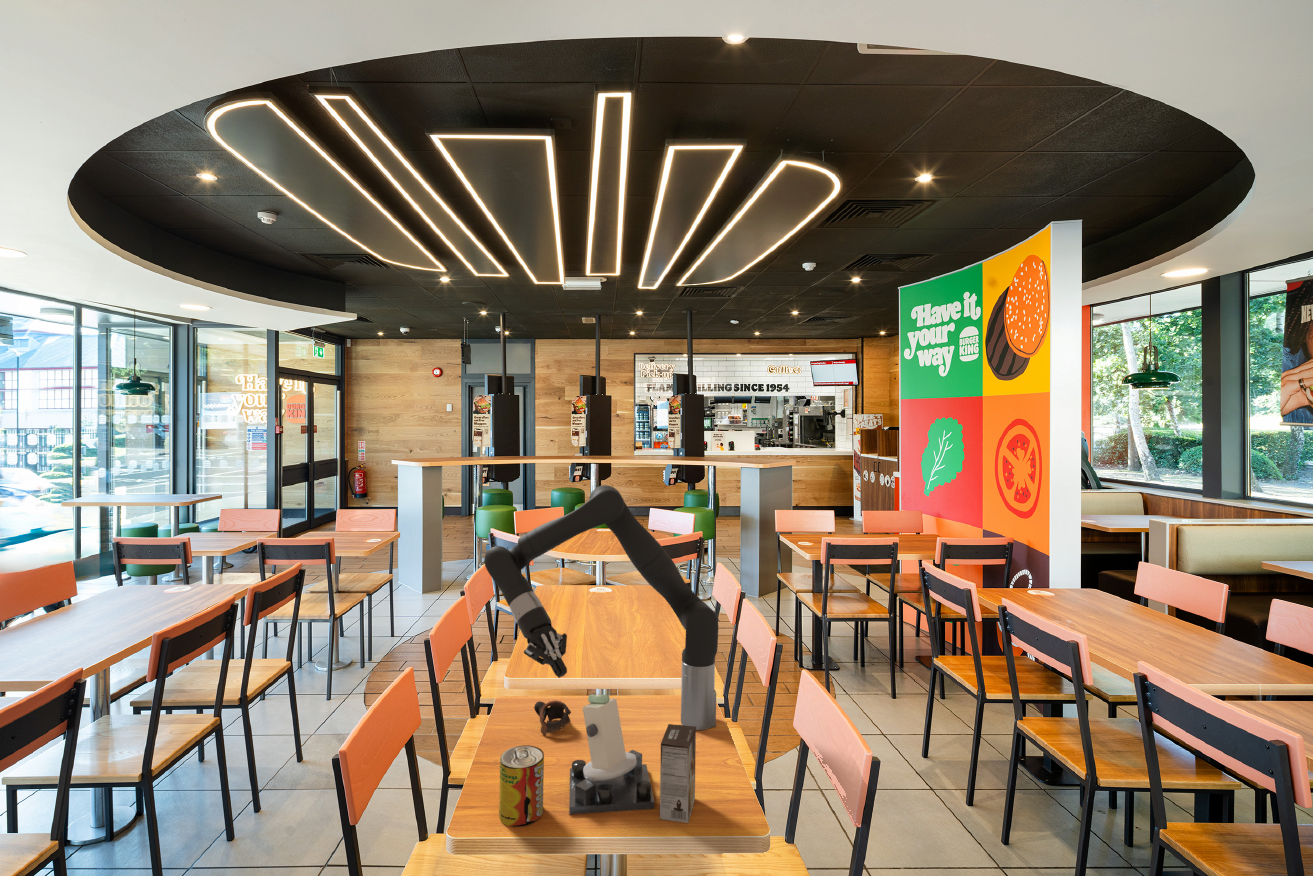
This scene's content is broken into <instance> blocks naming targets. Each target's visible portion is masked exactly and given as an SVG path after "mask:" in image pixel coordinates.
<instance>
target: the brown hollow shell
mask: <svg viewBox="0 0 1313 876" xmlns="http://www.w3.org/2000/svg"><path fill="white" fill-rule="evenodd" d="M533 709H534V712H535V713H536V714H537V715H538V717H539V722H540V725H541V728H540V733H541V734H542V735H544V736H546V735H547V733H548V734H549V733H553V732H557V731H561V730H562V728H565V727H566V725H567V724H569V723H571V718H570V716H569V715H571V714H572V711H571V709H569V707H568V706H567V704H565V703H564V702H563V701H561V700H551V701H548V702H546V703H545V702H543V701H540V700H539V701H536V703H535V704H534V707H533ZM546 718H547V719H548V720H546ZM553 720H556V721H553Z"/></svg>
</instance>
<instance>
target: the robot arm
mask: <svg viewBox="0 0 1313 876" xmlns="http://www.w3.org/2000/svg"><path fill="white" fill-rule="evenodd" d="M603 525H605V526H606V527H608V529H609V530H610V531H611V532H612V533H613V534H614V536H615V537H616V538H617V540H618V542H619V544H620V545H621V547H622V549H623V551H624V553H625V554H626V556H627V557H628V559H629V560H630V562H631V563H632V565H633V566H634V568H635V569H636V570H637V571H638V573H639V574H640V575H641V576H642V577H643V579H644V580H645V581H646V583H648V585H649V586H651V587H652V588H653V590H655V592H657V593H658V594H659V595H660V596H662V598H663V599H664V600H665V601H666V602H667V604H668V605H669V607H670V608H671V609H672V611H673V612H674V614H675V615H676V617H677V619H678V620H679V622H680V624H681V626H682V627H683V629H684V630H685V642H684V643H685V644H684V649H683V650H682V651H681V686H680V687H681V692H680V693H681V695H680V696H681V697H680V701H681V703H680V725H685V726H695V727H696V731H705V730H708V729H711V728H716V726H717V691H716V689H715V685H716V684H715V681H716V680H715V679H716V676H715V674H716V671H715V669H716V668H715V667H716V664H715V663H716V656H717V654H718V653H717V652H718V646H719V645H718V644H719V619H718V616H717V613H716V612H715V611H714V610H713V609H712V608H711V607H710V606H709V605H708V604H707V603H706V602H705V601H704V600H702V599H701V598H700V597H699V596H698V595H697V594H696V593H695V592H694V591H693V590H692V589H691V588H690V587H689V585H688V584H687V583H686V582H685V580H684V578H683V576H682V575H681V572H680V570H679V569H678V567H677V565H676V564H675V562H674V561H673V559H672V558H671V557H670V555H669V554H668V553H667V552H666V550H665V549H664V547H663V546H662V545H661V544H660V543H659V541H658V540H657V539H656V538H655V537H654V536H653V535H652V534H651V533H650V532H649V531H648V530H647V528H645V527H644V526H643V525H642V524H641V523H640V522H639V521H638V520H637V518H636V517H635V516H634V515H633V513H632V511H631V510H630V508H629V507H628V505H627V503H626V502H625V501H624V498H623V496H622V494H621V493H620V491H619V490H617V488H615V487H614V486H611V485H607V484H606V485H600V486H599V485H598V486H597V487H595V488H594V489H593V490H592V492H591V493H590V495H589V498H588V500H587V501H585V503H583V504H581V506H579V507H577V508H576V509H574V510H573V511H571V512H569V513H567V514H564V515H563V516H559V517H558V518H556V519H553V520H549V521H548V522H545V523H543V524H541V525H539V526H537V527H535V528H533V529H532V530H530V531H528V532H525V533H524V534H523V535H521V536H520V537H519V538H518V539H517V544H516V545H515V546H513V547H511V548H510V549H508V548H507V547H504V546H500V545H495V546H491V548H489V549H488V550H487V551H486V552H485V554H484V558H483V563H484V566H485V569H486V571H487V572H488V574H489V576H490V577H491V578H492V580H493V581H494V583H495V584H496V586H497V587H498V588H499V589H500V591H501V593H502V596H503V598H504V600H505V601H506V603H507V605H508V607H509V609H510V612H511V614H512V616H513V619H514V620H515V622H516V624H517V626H518V627H519V630H520V632H521V634H522V636H523V638H525V639H526V641H527V647H525V649H524V650H523V654H525V656H527V657H528V658H531V659H532V660H533V661H535V662H537V663H538V664H540V665H542V666H544V665H549V667H551V669H552V671H553V673H554V675H555V676H556V677H557V678H558V679H560V678H562V677H565V675H566V674H567V673H568V669H567V666H566V664H565V662H564V660H563V658H562V657H563V656H564V655H566V653H567V641H568V640H567V639H568V635H567V634H566V633H562V634H561V633H558V631H557V629H555V628H554V627H553V624H552V619H551V617H550V616H549V613H548V612H547V611H546V609H545V607H544V605H543V604H542V602H541V600H540V598H539V597H538V595H537V594H536V593H535V591H534V589H533V587H532V585H531V584H530V582H529V581H528V579H527V578H526V577H525V576H524V575H523V574H522V573H521V571H522V570H523V569H524V568H525V567H527V566H528V565H529V564H530V563H531V562H532V561H533V560H535V559H537V558H538V557H541V556H542V555H544V554H547V553H548V552H549V551H551V550H553V549H555V548H556V547H558V546H560V545H562V544H564V543H565V542H567V541H569V540H570V539H572V538H574V537H576V536H578V535H580V534H582V533H585V532H587V531H590V530H592V529H594V528H598V527H599V526H603Z"/></svg>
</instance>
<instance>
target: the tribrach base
mask: <svg viewBox="0 0 1313 876" xmlns="http://www.w3.org/2000/svg"><path fill="white" fill-rule="evenodd" d="M628 753H632V754H634V755H635V756H636V761H637V765H636V766H635V768H633V769H632V770H631V771H629V772H628V773H626V774H624V775H621V776H619V777H616V778H612V779H608V780H601V781H597V782H595V783H592V782H590V781H589V780H588V779H586V778H585V777H584V773H583V768H584V766H585V765H586V764H587V761H585V760H583V759H576V760H573V761H572V762H571V768H569V798H568V799H569V800H568V801H569V802H568V803H569V807H568V808H569V809H568V813H569V814H568V815H579V814H580V815H581V814H582V815H583V814H594V813H595V814H598V813H611V812H624V811H625V812H627V811H642V810H643V811H644V810H655V799H654V794H653V789H652V782H651V780H650V776H649V771H648V767H647V764H645V763H644V764H643V753H642V752H639V751H636V750H634V749H631V750H629V751H628Z"/></svg>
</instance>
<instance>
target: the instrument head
mask: <svg viewBox="0 0 1313 876" xmlns="http://www.w3.org/2000/svg"><path fill="white" fill-rule="evenodd" d="M587 701H588V702H589V703H588V704H586V705H585V706H582V712H583V719H584V725H585V730H586V736H587V737H586V738H587V743H588V750H589V755H590V761H589V762H586V765H585V766H584V768H583V773H584V777H585V778H586V779H588V780H589V781H590V782H592V783H595V782H597V781H601V780H608V779H612V778H616V777H619V776H621V775H624V774H626V773H628V772H629V771H631V770H632V769H633V768H635V766H636V765H637V761H636V756H635V755H634V754H632V753H628V752H629V751H628V752H627V751H626V748H625V743H624V736H623V730H622V725H621V719H620V713H619V706H618V703H617V702H618V701H617V698H610V695H609V694H600V693H597V694H589V695H588V699H587Z"/></svg>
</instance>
